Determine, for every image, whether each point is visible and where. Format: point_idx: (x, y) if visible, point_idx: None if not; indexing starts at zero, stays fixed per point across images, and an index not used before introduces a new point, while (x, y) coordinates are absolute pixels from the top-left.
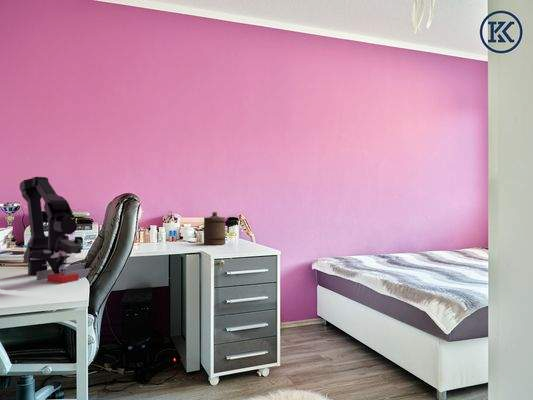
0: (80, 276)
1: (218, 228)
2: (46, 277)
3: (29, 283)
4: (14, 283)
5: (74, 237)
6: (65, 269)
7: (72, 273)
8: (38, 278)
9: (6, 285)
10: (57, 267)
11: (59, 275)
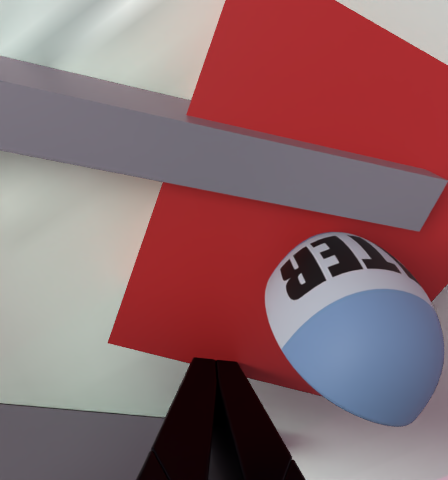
0: (40, 67)
1: None
2: None
3: None
4: (371, 474)
5: None
6: (379, 254)
7: (237, 127)
8: None
9: (437, 473)
10: (270, 446)
11: (403, 255)
